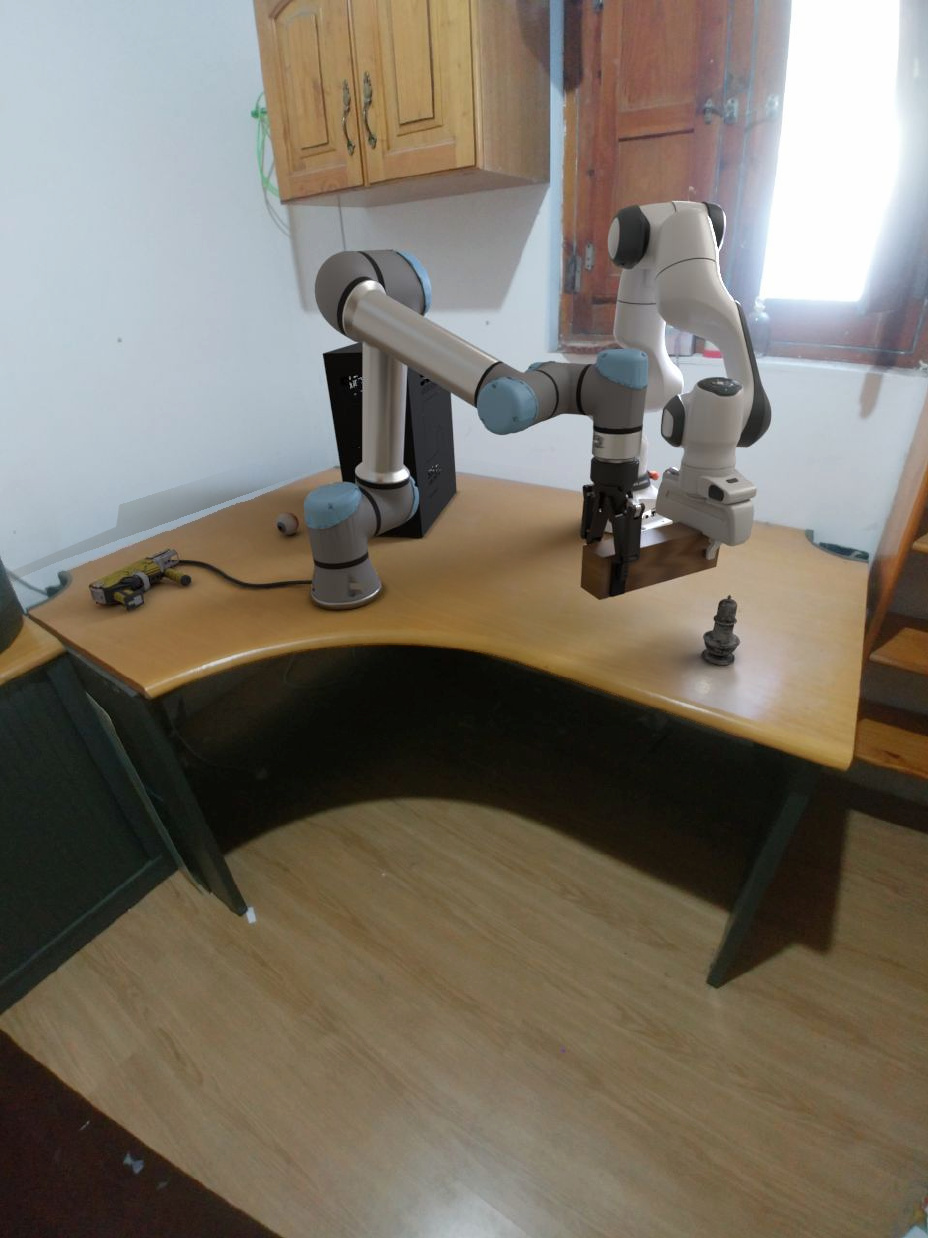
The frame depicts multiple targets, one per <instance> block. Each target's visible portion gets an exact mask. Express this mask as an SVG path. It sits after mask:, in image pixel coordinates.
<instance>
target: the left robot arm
mask: <svg viewBox="0 0 928 1238" xmlns="http://www.w3.org/2000/svg"><path fill="white" fill-rule="evenodd" d="M432 294H433V292H432V284H431V281H430V278H429V275H428V272H427V270H426V269H425V268H424V267H423V264H422V262H421V261H420V260H419V259H418V258H417V257H416V256H415V255H413V254H411V253H410V252H408V251H402V250H396V249H392V248H391V249H388V248H387V249H371V250H342V251H339V252H337V253H335V254H332V255H331V256H330V257H328V258H327V259H325V261H324V262H323V263H322V264H321V266H320V267H319V268H318V271H317V274H316V276H315V281H314V298H315V303H316V305H317V308H318V310H319V313H320V314H321V316H322V318H323V319H324V320H325V321H326V322H327V323H328V324H329V326H330V327H332V328H333V329H334V330H335V331H337V332H338V333H339V334H341V335H343V336H344V337H346V338H348V339H349V340H351V341H353V342H355V343H359V342H360V343H361V342H362V343H363V379H362V380H363V390H362V391H363V462H362V463H360V464H359V465H358V466H357V467H356V469H355V484H353V483H350V482H342V481H335V482H333V483H327V484H324V485H321V486H319V487H317V488H314V489H313V490H312V491H310V492H309V493H308V494H307V495H306V497H305V498H304V501H303V512H304V517H303V518H304V524H305V525H306V529H307V534H308V539H309V540H308V541H309V546H310V550H311V555H312V560H313V573H312V579H304V580H303V579H302V580H285V581H277V582H276V581H275V582H268V583H251V582H245V581H242V580H240V579H237V578H234V577H232V576H229V575H228V574H227V573H226V572H224V571H223V570H221V569H220V568H217V567H216V566H214V565H212V564H209V563H207V562H204V561H200V560H192V559H179V563H178V564H184V565H185V564H188V565H197V566H202V567H205V568H207V569H209V570H212V572H215V573H217V574H219V575H220V576H221V577H223V578H224V579H226V580H228V581H229V582H231V583H234V584H236V585H239V586H241V587H245V588H251V589H266V588H275V587H282V586H284V587H285V586H296V585H297V586H299V585H311V586H310V597H311V600H312V602H313V604H314V605H316V606H317V607H319V608H321V609H325V610H331V611H346V610H352V609H356V608H360V607H363V606H367V605H368V604H371V603H372V602H374V601H375V600H377V599H378V598H379V597H380V595H381V594H382V591H383V586H382V580H381V578H380V577H379V574H378V573H377V571H376V569H375V566H374V565H373V563H372V561H371V559H370V554H369V547H368V541H369V540H371V539H373V538H375V537H377V535H379V534H381V533H384V532H386V531H388V530H390V529H392V528H395V527H398V526H400V525H402V524H403V523H405V522H406V521H407V520H409V519H410V518H411V517H412V516H413V515H414V514H415V512H416V510H417V508H418V504H419V492H418V488H417V487H415V485H414V484H415V481H414V480H413V478H412V477H411V476H410V472H409V470H408V469H407V467H406V466H405V465H404V464H403V455H404V432H405V409H406V386H407V366H408V367H409V368H411V369H413V370H414V371H416V372H418V373H419V374H421V375H423V376H424V377H426V378H427V379H429V380H431V381H432V382H434V383H436V384H437V385H439V386H441V387H442V388H444V389H446V390H447V391H449V392H450V393H451V395H454V396H455V397H457V398H459V399H460V400H461V401H463V402H465V403H467V404H469V405H470V406H471V407H474V408H475V409H476V410H477V415H478V418H479V420H480V421H481V423H482V425H483V427H484V429H486V430H487V431H489V432H490V433H492V434H494V435H497V436H507V435H510V434H518V433H520V432H524V431H525V430H527V429H529V428H531V427H533V426H536V425H538V424H540V423H542V422H546V421H548V420H551V419H553V418H556V417H559V416H561V415H577V416H586V417H588V416H593V421H592V443H591V454H592V458H591V459H590V471H589V480H590V481H591V482H592V483H588V484H584V485H582V489H581V490H582V496H583V501H582V502H583V503H582V511H581V521H580V523H581V524H580V534H579V536H580V537H579V538H580V539H581V540H585V545H588V544H592V543H596V542H600V541H604V539H603V538H604V534H605V528H606V524H607V521H608V519H609V522H610V523H611V524H612V532H613V533H612V538H613V541H614V550H615V558H616V560H613V561H612V567H611V579H610V592H609V596H611V597H610V598H614V597H618V596H621V595H625V594H626V593H625V585H626V579H627V578H628V571H629V563H632V562H636V561H639V559H640V542H641V526H642V516H643V513H644V510H645V505H644V503H640V504H638V503H637V502H635V501H634V500H633V493H632V486H633V485H634V483H635V482H636V481H637V480H638V472H639V462H640V460H639V459H638V456H639V455H640V453H641V443H642V434H643V432H644V431H643V430H644V429H643V428H644V416H645V413H644V408H645V400H646V391H647V387H648V381H647V379H648V356H647V354H646V353H645V352H644V351H642V350H638V349H624V348H612V349H605V350H601V351H600V352H598V354H597V355H596V361H595V362H594V363H576V362H574V363H573V362H560V361H555V360H549V361H539V362H538V361H535V362H532V363H531V364H530V365H529V366H528V368H527V369H526V370H525V371H524V372H523V371H520V370H518V369H516V368H515V367H512V366H511V365H509V364H507V363H505V362H504V361H502V360H500V359H499V358H497V357H496V356H493V355H492V354H490V353H488V352H487V351H485V350H483V349H481V348H480V347H478V346H476V345H474V344H473V343H471V342H469V341H467V340H466V339H464V338H462V337H461V336H459V335H457V334H455V333H453V332H452V331H450V330H448V329H446V328H445V327H443V326H441V325H439V324H438V323H436V322H435V321H432V320H431V319H429V318H428V317H425V315H426V314H427V313H428V312H429V310H430V308H431V305H432V304H431V303H432V299H433V297H432ZM621 514H622V515H621ZM617 515H621V516H617ZM615 516H617V517H615ZM622 554H623V555H622ZM173 560H174V561H177V560H178V559H173ZM174 561H172V562H174ZM168 562H171V561H170V559H169V560H168Z"/></svg>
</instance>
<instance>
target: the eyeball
mask: <svg viewBox="0 0 928 1238" xmlns="http://www.w3.org/2000/svg"><path fill="white" fill-rule="evenodd" d="M299 525H300V522H299V519H298V517H297V516H296V515H295V514H294V513H292V512H287V511H286V512H282V513H280V514H279V515H278V516H277V517H276V520H275V527H276V529H277V530H278V531H279V532H280V533H281V534H282V535H285V536H286V535H287V536H289V535H293V534H295V533H296V532H297V531H298V529H299Z"/></svg>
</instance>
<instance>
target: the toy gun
mask: <svg viewBox="0 0 928 1238" xmlns="http://www.w3.org/2000/svg"><path fill="white" fill-rule="evenodd" d="M173 557H176V558H177V559H176V560H177V561H174V560H175V559H172V558H173ZM169 559H170V561H171V562H168V560H169ZM179 560H180V559H179V553H178V551H177V550H176V549H171V548H169V547H168V548H166V549H164V550H162V551H159V552H158V553H155V554H153V555H151V556H146V557H145V558H142V559H140V560H138V561H135V562H134V563H132V564H130V565H127V566H125V567H123V568H121V569H119V570H117V571H115V572H112V573H110V574H108V575H106V576H104V577H102V578H100V579H97V580H95V581H93V582H91V583H89V584H88V588H89V592H90V595H91V599H92V601H93V602H95V604H96V605H100V606H103V605H113V604H117V603H121V604H123V605H124V606H125V611H128V612H129V611H131V610H134V609H136V608H138V607H141V606H143V605H145V604H146V603H145V598H144V594H143V592H145V591H147V590H149V589H150V588H151V585H152V584H154V583H157V582H160V581H162V580H163V579H164V578H166V579H169V580H171V581H173V582H177V584H181V585H182V586H184V587H186V586H189V585H191V584H192V577H191V576H190V575H189V574H185V573H182V572H180V571H178V570H175V569H173V568H172V567H173V566H175V565H179V564H180V563H179ZM172 561H174V562H172Z"/></svg>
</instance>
